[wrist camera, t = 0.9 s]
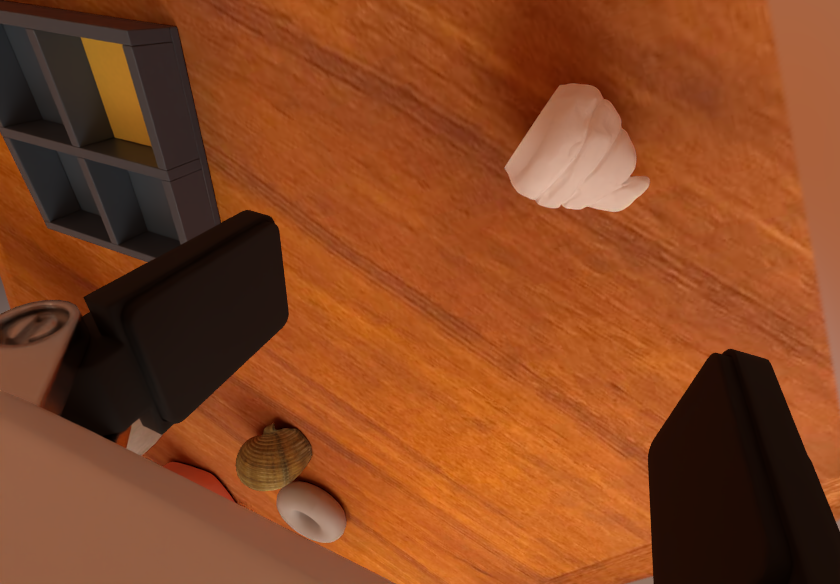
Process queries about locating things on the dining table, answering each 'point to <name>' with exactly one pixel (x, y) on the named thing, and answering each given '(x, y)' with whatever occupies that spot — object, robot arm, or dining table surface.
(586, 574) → the dining table surface
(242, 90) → the dining table surface
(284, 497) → the donut
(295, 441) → the seashell
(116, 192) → the grid
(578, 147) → the garlic bulb
